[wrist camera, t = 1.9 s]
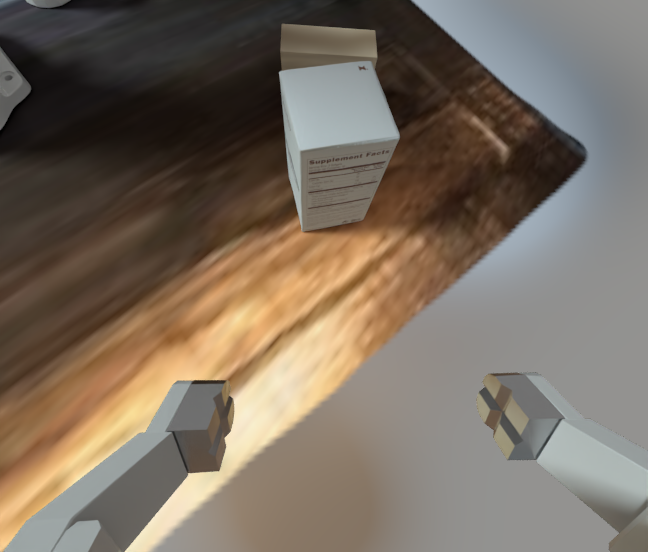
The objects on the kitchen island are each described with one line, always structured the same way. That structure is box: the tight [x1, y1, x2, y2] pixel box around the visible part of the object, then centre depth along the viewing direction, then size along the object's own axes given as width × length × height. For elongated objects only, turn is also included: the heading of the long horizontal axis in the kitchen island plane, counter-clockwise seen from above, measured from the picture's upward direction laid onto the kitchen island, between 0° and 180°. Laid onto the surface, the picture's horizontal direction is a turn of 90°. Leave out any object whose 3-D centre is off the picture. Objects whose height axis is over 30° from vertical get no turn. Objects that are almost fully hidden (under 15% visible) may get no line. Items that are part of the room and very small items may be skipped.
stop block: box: [280, 24, 377, 71], centre depth 31 cm, size 4×10×7 cm, turn 91°
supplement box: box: [279, 61, 400, 232], centre depth 25 cm, size 7×7×13 cm
